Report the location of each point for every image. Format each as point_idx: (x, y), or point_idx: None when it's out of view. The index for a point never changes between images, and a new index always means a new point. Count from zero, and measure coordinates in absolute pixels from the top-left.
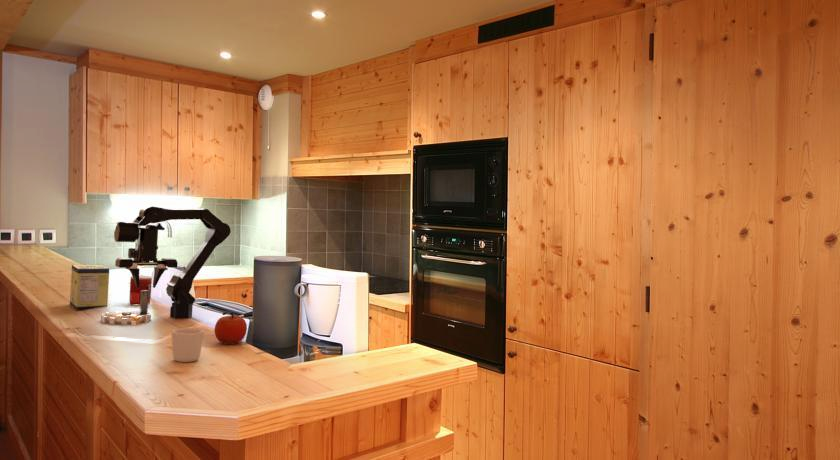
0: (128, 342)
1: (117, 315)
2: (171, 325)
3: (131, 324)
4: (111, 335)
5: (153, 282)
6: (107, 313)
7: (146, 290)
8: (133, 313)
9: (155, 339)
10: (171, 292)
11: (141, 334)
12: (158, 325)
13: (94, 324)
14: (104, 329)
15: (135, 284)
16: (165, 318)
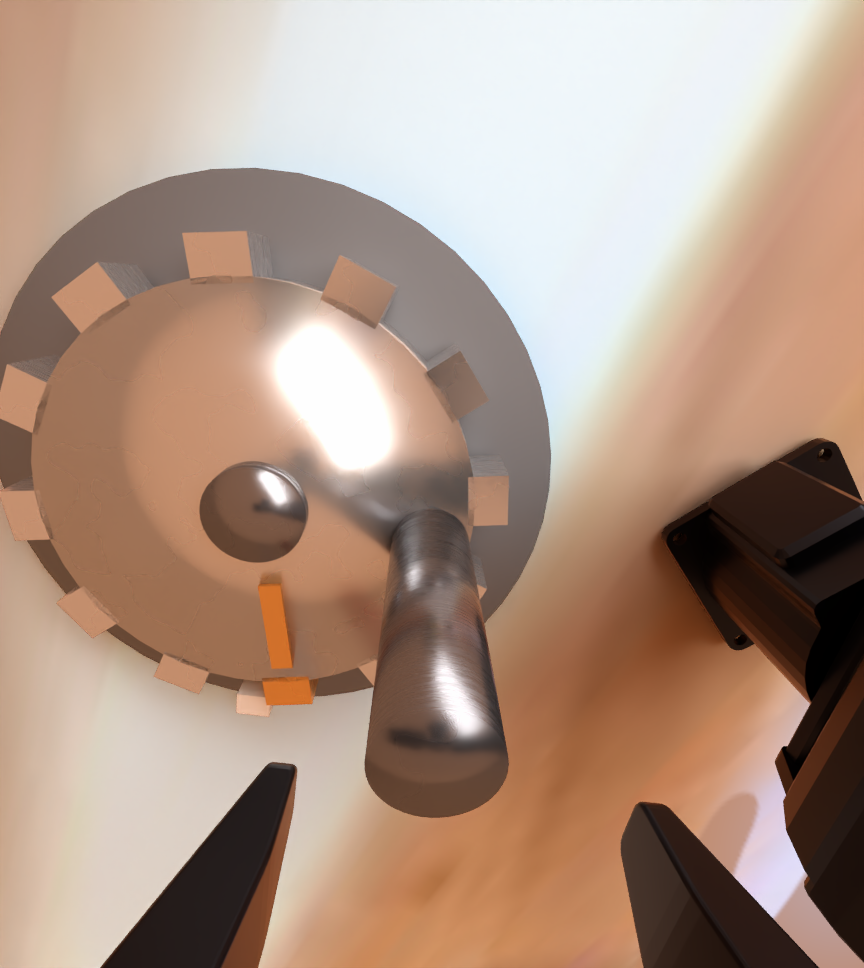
0: None
1: (156, 516)
2: (560, 691)
3: (246, 681)
4: (71, 784)
5: (691, 944)
6: (79, 348)
7: (475, 760)
8: (347, 481)
9: (272, 944)
10: (817, 857)
11: None
12: None
13: None
14: None
15: (216, 840)
16: (719, 400)
